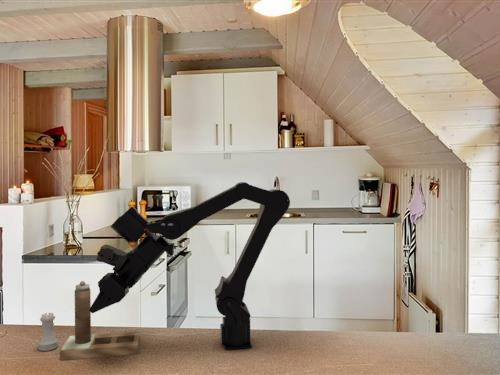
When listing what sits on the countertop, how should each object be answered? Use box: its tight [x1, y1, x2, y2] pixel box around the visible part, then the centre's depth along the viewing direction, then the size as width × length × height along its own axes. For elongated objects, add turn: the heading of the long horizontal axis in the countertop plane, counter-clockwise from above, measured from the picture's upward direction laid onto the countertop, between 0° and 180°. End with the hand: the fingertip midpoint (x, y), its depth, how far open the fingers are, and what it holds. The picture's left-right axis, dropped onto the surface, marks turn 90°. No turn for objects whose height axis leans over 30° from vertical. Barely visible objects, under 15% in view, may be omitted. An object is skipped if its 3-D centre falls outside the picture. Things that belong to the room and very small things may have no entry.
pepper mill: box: [74, 280, 92, 344], centre depth 98 cm, size 3×3×14 cm
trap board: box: [59, 331, 141, 361], centre depth 99 cm, size 16×9×2 cm, turn 101°
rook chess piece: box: [37, 312, 59, 352], centre depth 100 cm, size 4×4×8 cm
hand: (97, 305), depth 99 cm, fingers open, 9 cm apart
